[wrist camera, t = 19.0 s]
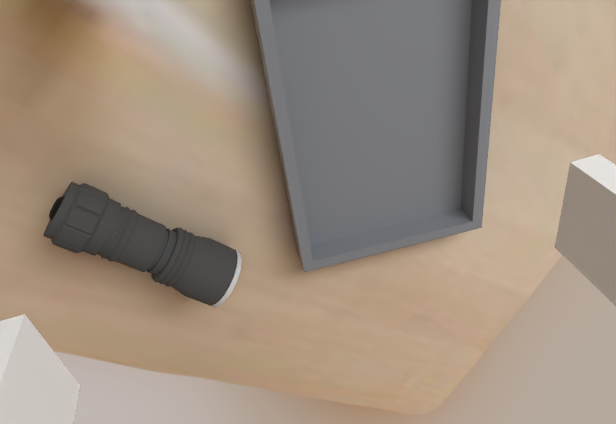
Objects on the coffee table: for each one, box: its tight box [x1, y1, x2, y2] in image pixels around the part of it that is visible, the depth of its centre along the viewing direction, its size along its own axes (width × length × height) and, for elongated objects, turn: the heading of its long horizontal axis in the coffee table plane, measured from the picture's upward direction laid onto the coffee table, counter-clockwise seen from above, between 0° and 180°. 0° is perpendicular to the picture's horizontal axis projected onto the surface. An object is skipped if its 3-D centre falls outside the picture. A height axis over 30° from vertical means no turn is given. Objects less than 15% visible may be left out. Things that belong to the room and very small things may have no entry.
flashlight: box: [43, 182, 242, 307], centre depth 40 cm, size 15×5×5 cm
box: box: [250, 0, 501, 272], centre depth 40 cm, size 26×18×3 cm
